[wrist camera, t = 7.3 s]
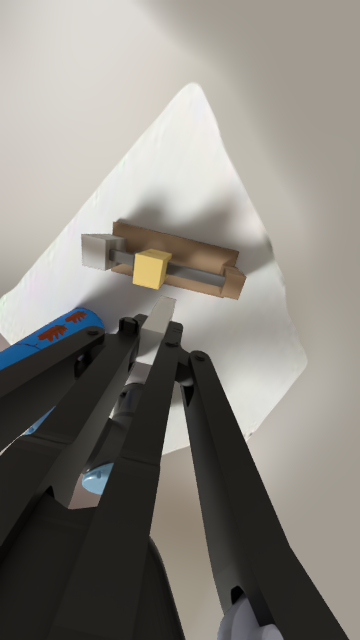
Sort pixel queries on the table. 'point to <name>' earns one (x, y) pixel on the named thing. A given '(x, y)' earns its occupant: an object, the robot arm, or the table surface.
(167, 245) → the rod stand
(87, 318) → the thermos
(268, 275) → the table surface
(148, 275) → the sleeve
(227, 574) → the robot arm
